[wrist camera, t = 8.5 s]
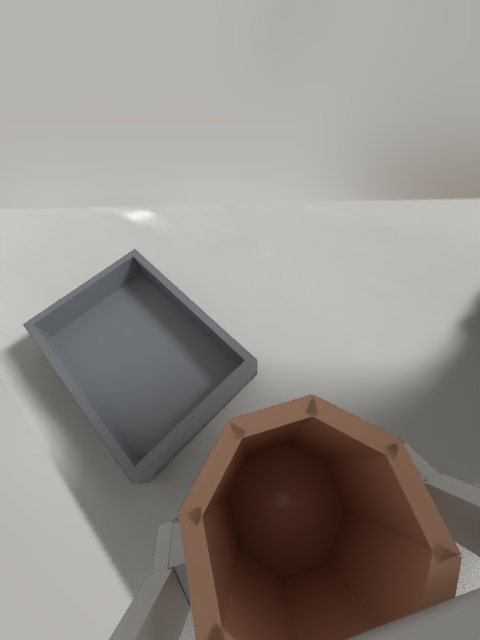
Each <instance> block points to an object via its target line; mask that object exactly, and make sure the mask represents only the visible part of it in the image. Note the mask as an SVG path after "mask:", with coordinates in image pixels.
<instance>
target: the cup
mask: <svg viewBox="0 0 480 640" xmlns="http://www.w3.org/2000/svg"><path fill="white" fill-rule="evenodd" d="M178 517H179V524H180V531H181V538H182V545H183V552H184V559H185V565H186V572H187V579H188V586H189V593H190V600H191V606H192V613H193V620H194V627H195V634H196V640H345V639H348V638H350V637H353V636H356V635H358V634H361V633H363V632H366V631H369V630H371V629H374V628H376V627H379V626H382V625H384V624H387V623H389V622H392V621H395V620H397V619H400V618H403V617H405V616H408V615H410V614H413V613H416V612H418V611H421V610H423V609H426V608H429V607H431V606H434V605H437V604H439V603H442V602H444V601H447V600H450V599H452V598H455V595H456V588H457V582H458V576H459V570H460V564H461V558H462V557H461V556H459V555H461V553H460V551H459V549H458V548H457V546H456V544H455V542H454V540H453V538H452V536H451V534H450V532H449V530H448V528H447V526H446V524H445V522H444V521H443V519H442V517H441V515H440V513H439V511H438V509H437V507H436V505H435V503H434V501H433V499H432V497H431V496H430V494H429V492H428V490H427V488H426V486H425V484H424V482H423V480H422V478H421V476H420V474H419V472H418V470H417V469H416V467H415V465H414V463H413V461H412V459H411V457H410V455H409V453H408V451H407V449H406V447H405V445H404V443H403V442H402V441H400V439H399V438H397V437H395V436H394V435H392V434H390V433H388V432H386V431H384V430H382V429H380V428H378V427H376V426H374V425H372V424H370V423H368V422H366V421H364V420H362V419H360V418H358V417H356V416H354V415H352V414H350V413H348V412H346V411H344V410H342V409H340V408H338V407H336V406H334V405H333V404H331V403H329V402H327V401H325V400H323V399H321V398H319V397H317V396H315V395H313V396H312V395H308V396H305V397H302V398H299V399H295V400H292V401H289V402H286V403H282V404H279V405H276V406H272V407H269V408H266V409H263V410H259V411H256V412H253V413H249V414H246V415H243V416H240V417H236V418H233V419H230V421H228V422H227V424H226V426H225V428H224V429H223V431H222V433H221V435H220V437H219V439H218V440H217V442H216V444H215V446H214V448H213V449H212V451H211V453H210V455H209V457H208V459H207V460H206V462H205V464H204V466H203V468H202V470H201V471H200V473H199V475H198V477H197V479H196V481H195V482H194V484H193V486H192V488H191V490H190V492H189V493H188V495H187V497H186V499H185V501H184V502H183V504H182V506H181V508H180V510H179V514H178Z"/></svg>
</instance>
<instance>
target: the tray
mask: <svg viewBox="0 0 480 640" xmlns="http://www.w3.org/2000/svg"><path fill="white" fill-rule="evenodd" d="M23 325H24V327H25V328H26V330H27V331H28V332H29V334H30V335H31V337H32V338H33V340H34V341H35V343H36V344H37V346H38V347H39V349H40V350H41V351H42V353H43V354H44V356H45V357H46V359H47V360H48V362H49V363H50V365H51V366H52V368H53V369H54V370H55V372H56V373H57V375H58V376H59V378H60V379H61V381H62V382H63V384H64V385H65V387H66V388H67V389H68V391H69V392H70V394H71V395H72V397H73V398H74V400H75V401H76V403H77V404H78V406H79V407H80V408H81V410H82V411H83V413H84V414H85V416H86V417H87V419H88V420H89V422H90V423H91V425H92V426H93V427H94V429H95V430H96V432H97V433H98V435H99V436H100V438H101V439H102V441H103V442H104V444H105V445H106V446H107V448H108V449H109V451H110V452H111V454H112V455H113V457H114V458H115V460H116V461H117V462H118V464H119V465H120V467H121V468H122V470H123V471H124V473H125V474H126V476H127V477H128V479H129V480H130V481H131V483H146V482H150V481H151V480H152V479H153V478H154V477H155V476H156V475H157V474H158V473H159V472H160V471H161V470H162V469H163V468H164V467H165V466H166V465H167V464H168V463H169V462H170V461H171V460H172V459H173V458H174V457H175V456H176V455H177V454H178V453H179V452H180V451H181V450H182V449H183V448H184V447H185V446H186V445H187V444H188V443H189V442H190V441H191V440H192V439H193V438H194V437H195V436H196V435H197V434H198V433H199V432H200V431H201V430H202V429H203V428H204V427H205V426H206V425H207V424H208V423H209V422H210V421H211V420H212V419H213V418H214V417H215V416H216V415H217V414H218V413H219V412H220V411H221V410H222V409H223V408H224V407H225V406H226V405H227V404H228V403H229V402H230V401H231V400H232V399H233V398H234V397H235V396H236V395H237V394H238V393H239V392H240V391H241V390H242V389H243V388H244V387H245V386H246V385H247V384H248V383H249V382H250V381H251V380H252V379H253V378H254V377H255V376H256V375H257V359H256V358H254V357H253V356H252V355H251V354H250V353H249V352H248V351H247V350H246V349H244V348H243V347H242V346H241V345H240V344H239V343H238V342H237V341H236V340H235V339H233V338H232V337H231V336H230V335H229V334H228V333H227V332H226V331H225V330H224V329H222V328H221V327H220V326H219V325H218V324H217V323H216V322H215V321H214V320H213V319H211V318H210V317H209V316H208V315H207V314H206V313H205V312H204V311H203V310H201V309H200V308H199V307H198V306H197V305H196V304H195V303H194V302H193V301H192V300H190V299H189V298H188V297H187V296H186V295H185V294H184V293H183V292H182V291H181V290H179V289H178V288H177V287H176V286H175V285H174V284H173V283H172V282H171V281H170V280H168V279H167V278H166V277H165V276H164V275H163V274H162V273H161V272H160V271H158V270H157V269H156V268H155V267H154V266H153V265H152V264H151V263H150V262H149V261H147V260H146V259H145V258H144V257H143V256H142V255H141V254H140V253H139V252H138V251H136V250H135V249H134V250H133V251H131V252H130V253H128V254H127V255H125V256H124V257H122V258H121V259H119V260H118V261H116V262H115V263H113V264H112V265H110V266H109V267H107V268H106V269H104V270H103V271H101V272H100V273H98V274H97V275H95V276H94V277H92V278H91V279H90V280H88V281H87V282H85V283H84V284H82V285H81V286H79V287H78V288H76V289H75V290H73V291H72V292H70V293H69V294H67V295H66V296H64V297H63V298H61V299H60V300H58V301H57V302H55V303H54V304H52V305H51V306H50V307H48V308H47V309H45V310H44V311H42V312H41V313H39V314H38V315H36V316H35V317H33V318H32V319H30V320H29V321H27V322H26V323H24V324H23Z"/></svg>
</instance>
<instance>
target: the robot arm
mask: <svg viewBox="0 0 480 640" xmlns="http://www.w3.org/2000/svg"><path fill="white" fill-rule="evenodd" d="M404 445H405V447H406V449H407V451H408V453H409V455H410V457H411V459H412V461H413V463H414V465H415V467H416V469H417V470H418V472H419V474H420V476H421V478H422V480H423V482H424V484H425V486H426V488H427V490H428V492H429V494H430V496H431V497H432V499H433V501H434V503H435V505H436V507H437V509H438V511H439V513H440V515H441V517H442V519H443V521H444V522H445V524H446V526H447V528H448V530H449V532H450V534H451V536H452V538H453V540H454V541H455V542H457V543H458V544H460V545H461V546H463V547H465V548H466V549H468V550H469V551H471V552H473V553H474V554H476V555H477V556H479V557H480V488H479V487H476V486H474V485H471V484H469V483H466V482H464V481H461V480H458V479H456V478H453V477H451V476H448V475H446V474H445V475H440V474H439V473H438V472H437V471H436V470H435V469H434V468H433V467H432V466H431V465H430V464H429V463H428V462H427V461H425V460H424V459H423V458H422V457H421V456H420V455H419V454H418V453H417V452H416V451H415V450H414V449H413V448H411V447H410V446H409V445H408V444H406V443H405V444H404ZM190 606H191V600H190V593H189V586H188V579H187V572H186V565H185V559H184V552H183V545H182V538H181V531H180V524H179V518H177V519H174V520H171V521H168V522H165V523H161V524H160V525H159V527H158V530H157V537H156V545H155V552H154V560H153V568H152V575H150V576H148V577H147V578H146V579H145V581H144V583H143V584H142V586H141V588H140V589H139V591H138V593H137V594H136V596H135V598H134V599H133V601H132V603H131V604H130V606H129V608H128V609H127V611H126V613H125V614H124V616H123V618H122V619H121V621H120V623H119V624H118V626H117V628H116V630H115V631H114V633H113V634H112V636H111V638H110V639H109V640H179V637H180V635H181V632H182V629H183V627H184V624H185V621H186V619H187V616H188V613H189V611H190ZM345 640H480V588H478V589H476V590H473V591H470V592H468V593H465V594H463V595H460V596H457V597H455V598H452V599H450V600H447V601H444V602H442V603H439V604H437V605H434V606H431V607H429V608H426V609H423V610H421V611H418V612H416V613H413V614H410V615H408V616H405V617H403V618H400V619H397V620H395V621H392V622H389V623H387V624H384V625H382V626H379V627H376V628H374V629H371V630H369V631H366V632H363V633H361V634H358V635H356V636H353V637H350V638H348V639H345Z"/></svg>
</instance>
